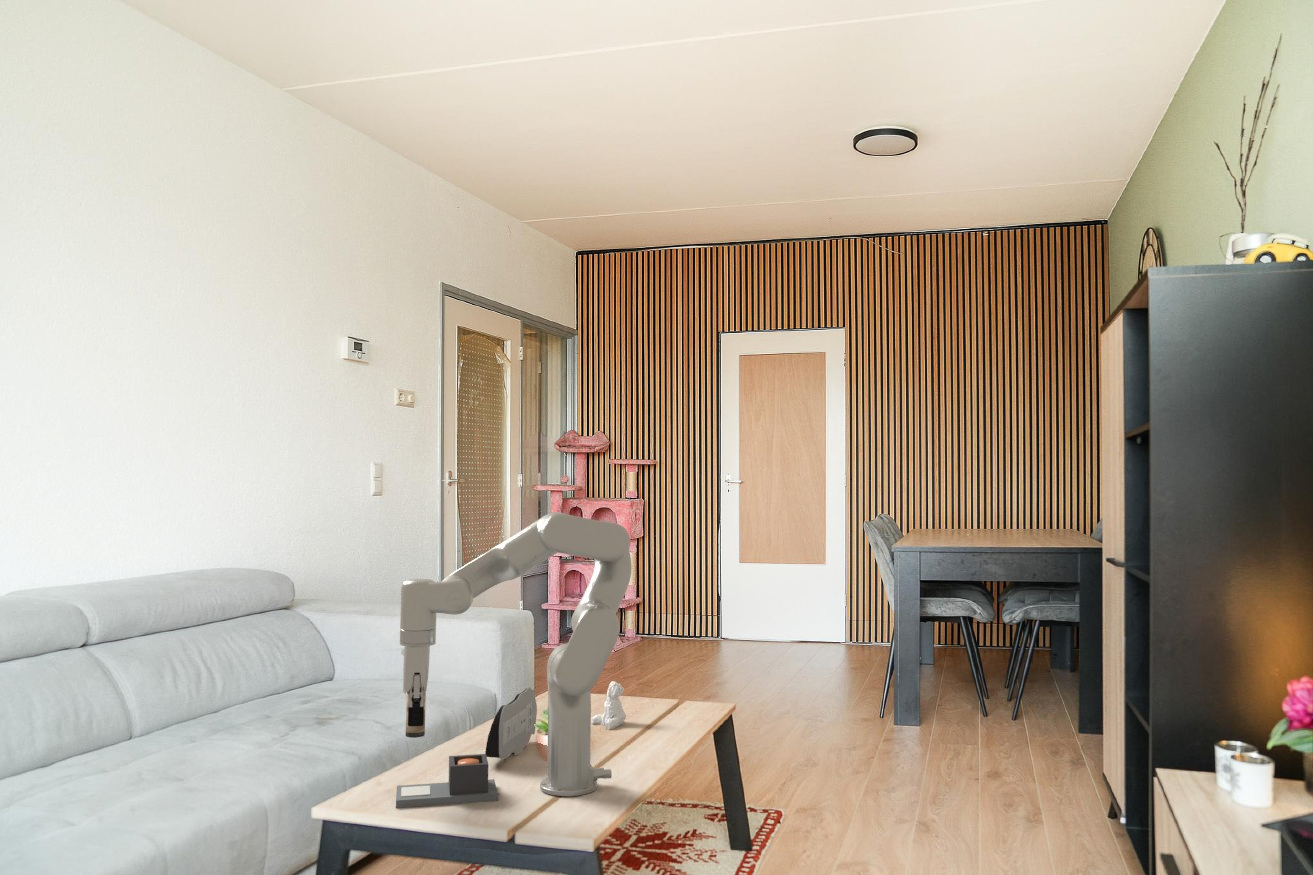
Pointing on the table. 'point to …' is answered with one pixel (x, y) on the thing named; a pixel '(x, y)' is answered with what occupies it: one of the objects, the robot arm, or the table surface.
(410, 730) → the beige wooden cylinder
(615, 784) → the table surface
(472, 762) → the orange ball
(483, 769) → the board
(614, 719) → the white creature statuette
